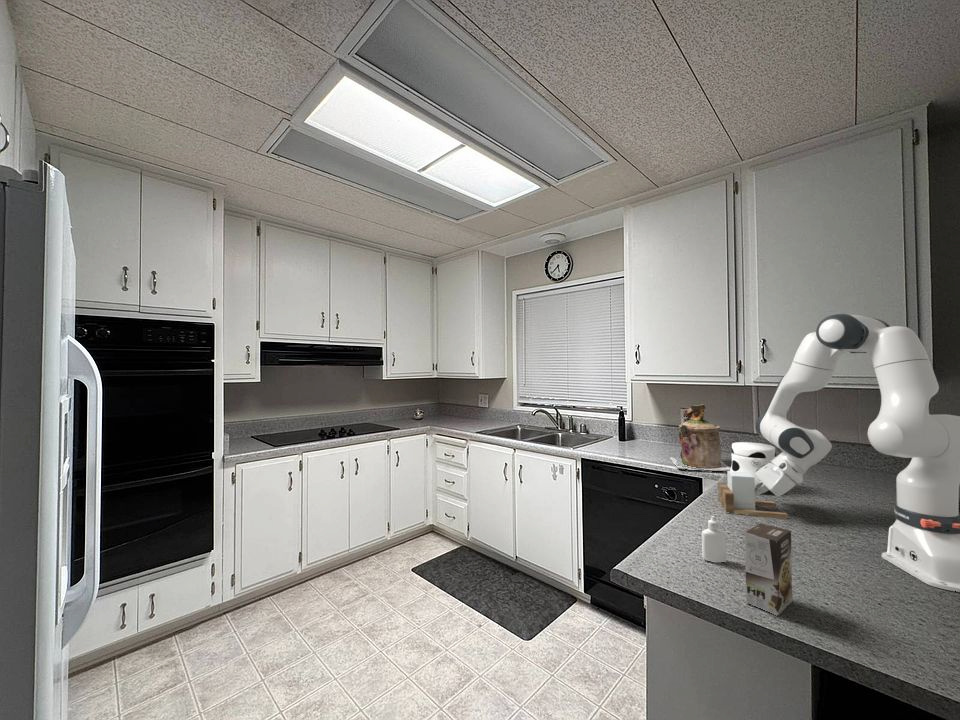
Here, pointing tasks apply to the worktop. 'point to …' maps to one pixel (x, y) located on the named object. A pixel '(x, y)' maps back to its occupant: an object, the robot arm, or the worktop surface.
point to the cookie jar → (700, 442)
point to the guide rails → (761, 513)
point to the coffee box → (768, 568)
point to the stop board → (725, 497)
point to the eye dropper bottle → (713, 542)
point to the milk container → (751, 457)
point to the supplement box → (742, 489)
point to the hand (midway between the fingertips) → (754, 493)
